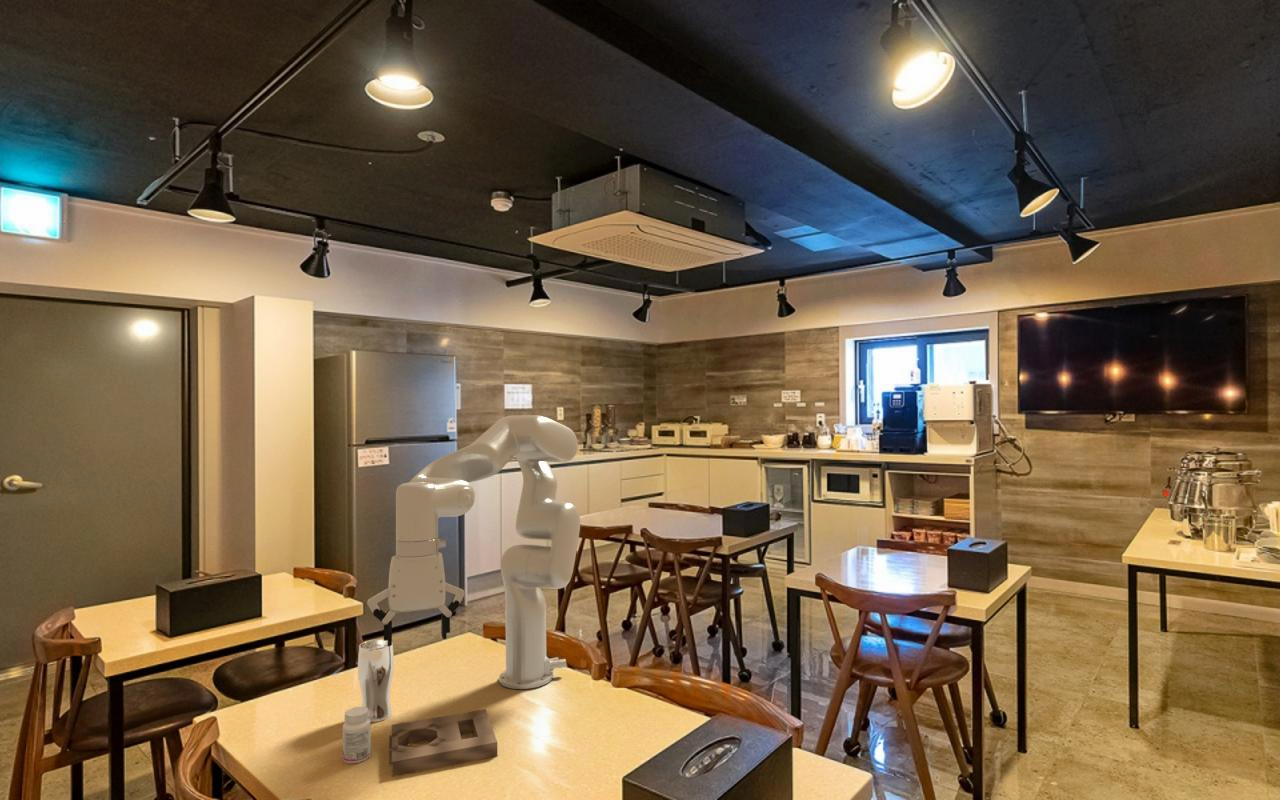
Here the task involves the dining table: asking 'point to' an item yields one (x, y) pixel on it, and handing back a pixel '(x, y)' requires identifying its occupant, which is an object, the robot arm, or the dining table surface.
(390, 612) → the robot arm
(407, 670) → the dining table surface
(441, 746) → the socket plate
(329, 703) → the dining table surface
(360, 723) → the pill bottle
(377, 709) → the beer glass
